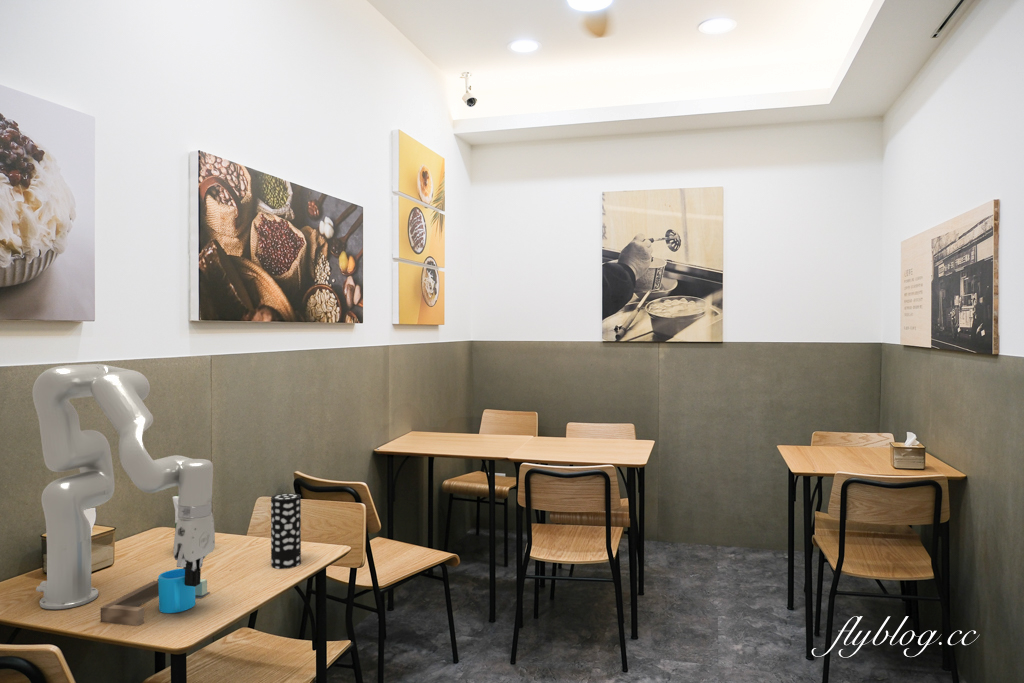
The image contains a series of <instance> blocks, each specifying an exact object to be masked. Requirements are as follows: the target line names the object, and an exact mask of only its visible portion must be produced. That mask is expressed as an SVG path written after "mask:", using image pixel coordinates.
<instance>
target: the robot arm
mask: <svg viewBox="0 0 1024 683" xmlns="http://www.w3.org/2000/svg"><path fill="white" fill-rule="evenodd" d="M150 386H151V385H150V382H149V380H148V378H147V377H146V376H145V375H144V374H143V373H142V372H140V371H137V370H133V369H127V368H123V367H117V366H113V365H108V364H102V363H88V364H87V363H86V364H65V365H58V366H54V367H50V368H48V369H46V370H44V371H43V372H42V373H41V374H39V376H38V377H37V378H36V380H35V381H34V383H33V387H32V401H33V404H34V407H35V411H36V414H37V419H38V423H39V424H38V425H39V432H40V433H39V434H40V439H41V448H42V455H43V460H44V465H45V466H46V468H47V469H49V471H51V472H55V473H56V472H57V473H61V472H63V473H64V472H68V471H72V470H73V471H74V470H77V469H78V470H79V473H75V474H71V475H67V476H63V477H59V478H57V479H54V480H53V481H51V482H50V483H48V484H47V485H46V486H45V488H44V489H43V491H42V494H41V499H40V500H41V506H42V510H43V514H44V519H45V529H46V580H42V581H41V582H40V584H39V585H38V586H36V589H35V591H36V592H38V593H39V592H41V593H43V597H42V598H41V599H39V606H40V608H42V609H45V610H64V609H71V608H75V607H79V606H83V605H86V604H89V603H91V602H92V601H94V600H95V599H97V598H98V597H99V590H98V589H97V588H95V587H93V586H92V528H91V524H90V522H89V519H88V518H87V516H86V514H85V511H87V510H88V509H91V508H92V509H93V508H95V507H98V506H101V505H104V504H106V503H107V502H108V501H109V500H111V499H112V498H113V495H114V493H115V489H116V487H115V486H116V484H115V475H114V467H113V466H114V464H113V459H112V458H113V457H112V452H111V447H110V442H109V441H108V439H107V437H106V436H105V435H104V434H103V433H102V432H100V431H98V430H94V429H83V430H81V424H80V417H79V413H78V412H77V410H76V408H75V407H74V405H73V404H72V403H71V401H70V400H71V399H79V398H88V397H89V398H90V397H93V399H94V400H95V402H96V404H97V405H98V406H99V408H100V409H101V410H102V412H103V413H104V416H106V418H107V419H108V420H109V422H110V423H111V425H112V427H113V428H114V429H115V430H116V432H117V435H118V437H119V440H118V455H119V456H118V457H119V461H120V464H121V466H122V468H123V470H124V472H125V473H126V475H127V476H128V477H129V478H130V480H131V482H132V483H133V484H134V485H135V487H137V489H139V490H140V491H142V492H144V493H147V494H149V493H150V494H152V493H153V494H154V493H158V492H161V491H163V490H164V491H165V490H168V489H169V488H174V487H175V488H176V487H177V486H178V494H177V495H178V520H177V524H176V530H175V529H174V531H175V532H174V539H173V558H174V560H175V561H176V567H177V568H183V569H184V570H185V583H184V584H185V585H186V586H194V587H195V586H197V585H199V584H200V579H201V572H202V570H201V569H202V567H203V564H204V563H203V562H204V559H205V558H206V557H207V556H208V555H209V554H211V553H213V551H214V550H215V546H216V545H215V544H216V542H215V541H216V539H215V538H216V536H215V535H216V532H215V520H214V519H215V518H214V514H213V512H212V509H213V508H212V506H213V505H212V504H213V503H212V502H213V481H214V480H213V478H214V477H213V475H214V474H213V473H214V465H213V464H214V463H212V461H211V460H209V459H204V458H191V457H187V456H184V455H176V454H175V455H169V456H165V457H162V458H158V459H153V458H152V457H151V455H150V454H149V453H148V450H147V449H146V447H145V444H144V441H143V436H144V433H145V431H147V430H148V429H149V428H151V426H152V425H153V423H154V416H153V414H152V413H151V411H150V410H149V409H148V407H147V406H146V405H145V403H144V400H145V399H146V398H148V396H149V395H150V391H151V387H150Z"/></svg>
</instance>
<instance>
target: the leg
mask: <svg viewBox="0 0 1024 683" xmlns="http://www.w3.org/2000/svg"><path fill="white" fill-rule="evenodd" d="M207 592H208V579H205V578H200V584H199V585H197V586H195V595H200V596H203V595H204V594H206V593H207Z"/></svg>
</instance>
